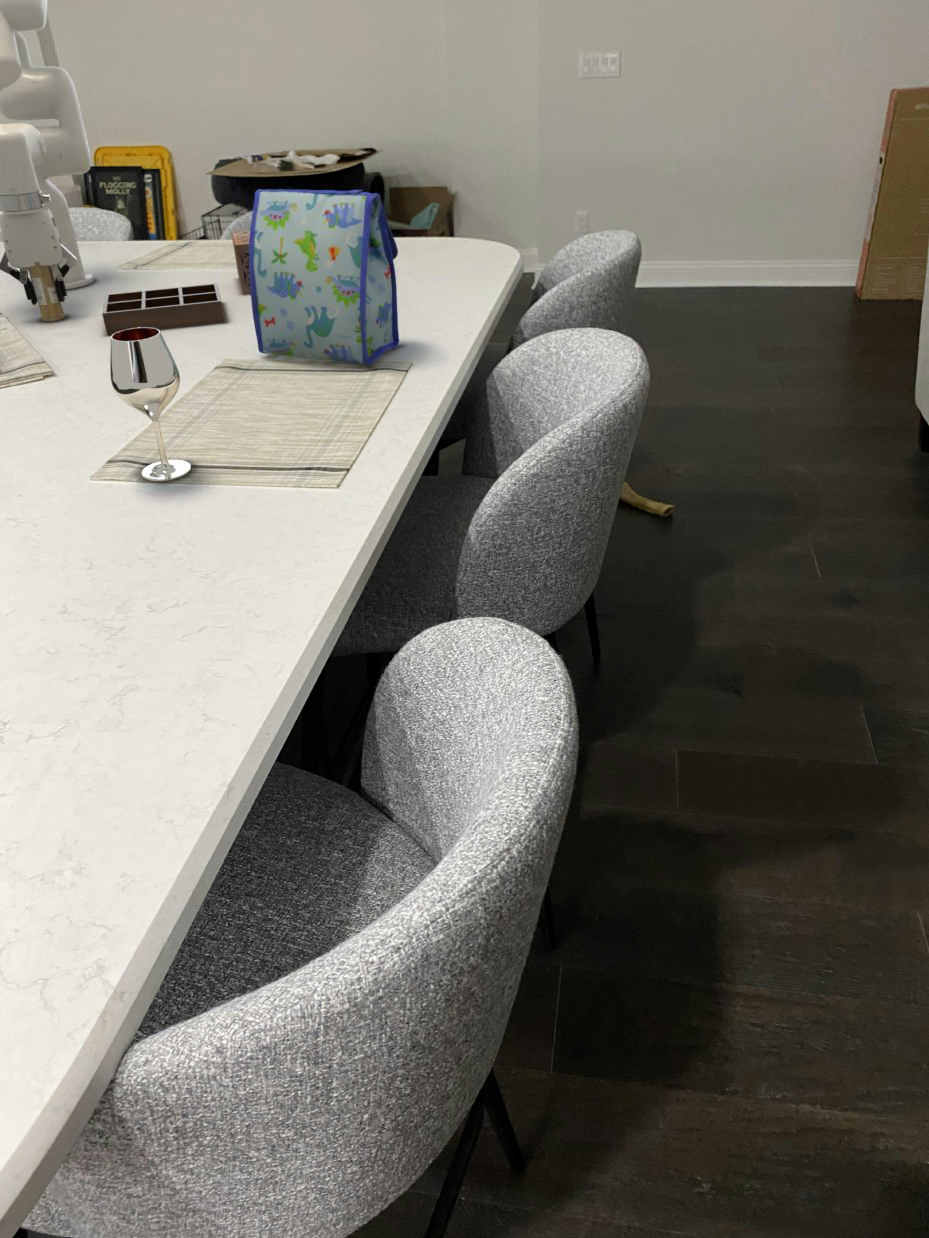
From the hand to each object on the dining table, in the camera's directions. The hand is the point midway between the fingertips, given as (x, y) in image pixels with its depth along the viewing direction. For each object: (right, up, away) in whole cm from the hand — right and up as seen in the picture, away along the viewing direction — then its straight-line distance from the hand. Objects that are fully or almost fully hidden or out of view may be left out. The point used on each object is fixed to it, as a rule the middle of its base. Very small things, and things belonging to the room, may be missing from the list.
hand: (48, 300), depth 184 cm
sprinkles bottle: (0, -3, +2) cm, 4 cm away
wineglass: (+44, -44, -62) cm, 88 cm away
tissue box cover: (+46, +12, +22) cm, 52 cm away
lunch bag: (+60, -16, -21) cm, 65 cm away
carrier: (+24, -4, -1) cm, 24 cm away
